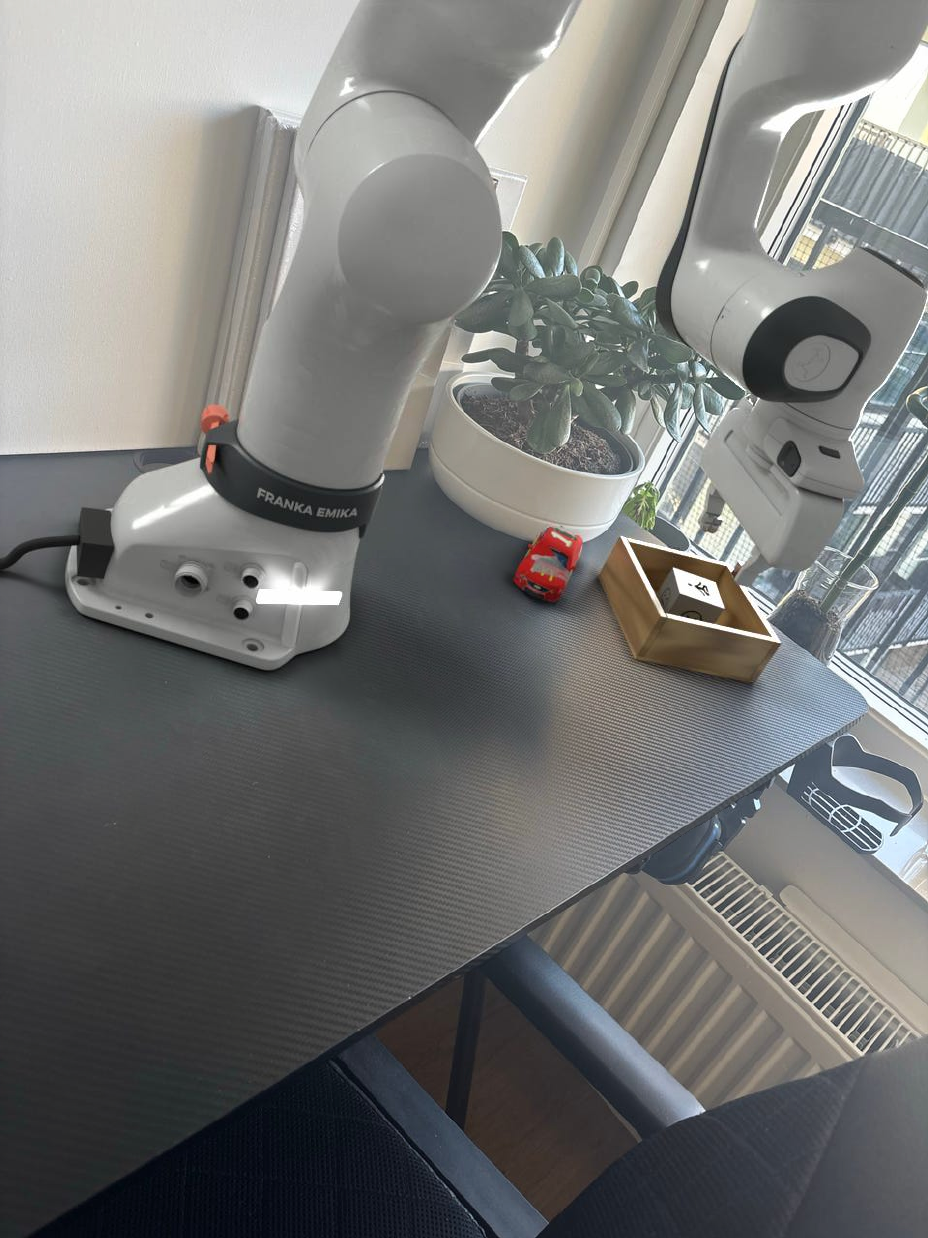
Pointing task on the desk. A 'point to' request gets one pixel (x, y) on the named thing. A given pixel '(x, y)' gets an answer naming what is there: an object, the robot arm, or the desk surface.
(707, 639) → the crate
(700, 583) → the dice cube
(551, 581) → the race car
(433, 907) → the desk surface
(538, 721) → the desk surface
